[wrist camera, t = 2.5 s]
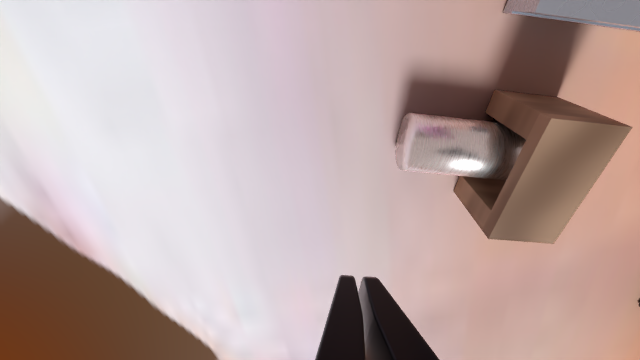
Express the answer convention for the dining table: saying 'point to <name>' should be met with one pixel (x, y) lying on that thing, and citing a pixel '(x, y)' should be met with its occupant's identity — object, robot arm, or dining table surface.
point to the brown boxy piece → (541, 167)
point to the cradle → (581, 11)
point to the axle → (457, 146)
